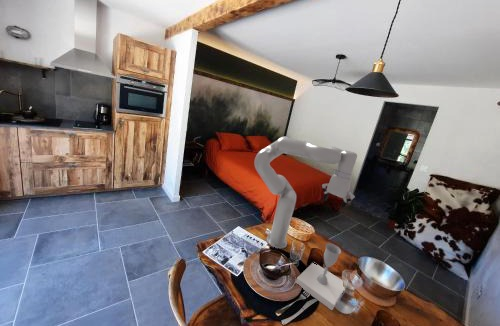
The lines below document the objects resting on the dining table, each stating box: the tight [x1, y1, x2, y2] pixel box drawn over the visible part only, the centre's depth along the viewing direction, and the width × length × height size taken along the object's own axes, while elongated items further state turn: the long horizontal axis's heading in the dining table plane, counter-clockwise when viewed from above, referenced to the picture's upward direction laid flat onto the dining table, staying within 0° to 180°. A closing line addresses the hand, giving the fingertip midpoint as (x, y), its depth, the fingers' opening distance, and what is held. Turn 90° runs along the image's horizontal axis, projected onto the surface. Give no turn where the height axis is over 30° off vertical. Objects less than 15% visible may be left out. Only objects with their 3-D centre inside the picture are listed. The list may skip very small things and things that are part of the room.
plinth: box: [295, 262, 346, 311], centre depth 103 cm, size 18×18×3 cm
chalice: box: [317, 243, 342, 285], centre depth 101 cm, size 7×7×18 cm
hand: (333, 204), depth 117 cm, fingers open, 9 cm apart
